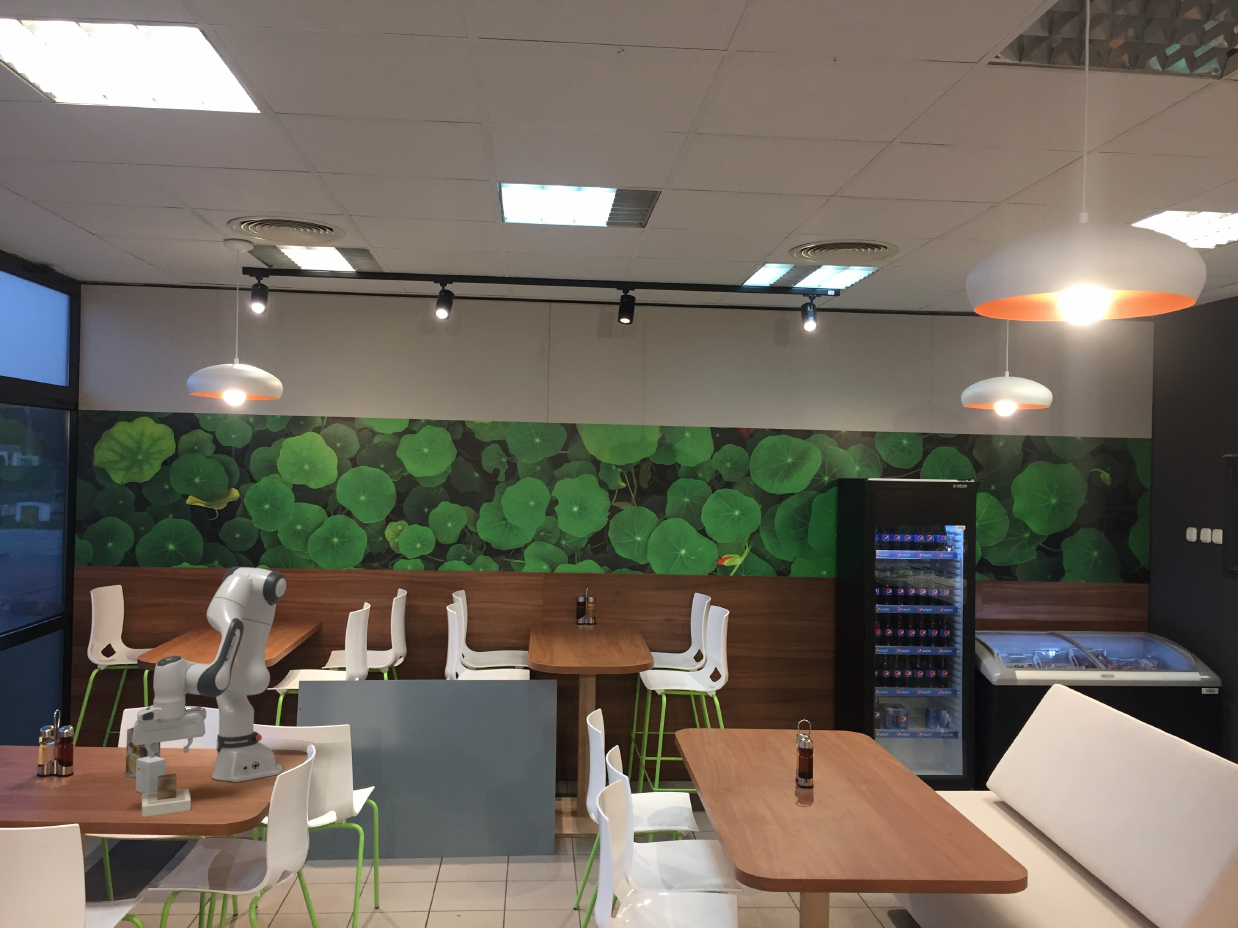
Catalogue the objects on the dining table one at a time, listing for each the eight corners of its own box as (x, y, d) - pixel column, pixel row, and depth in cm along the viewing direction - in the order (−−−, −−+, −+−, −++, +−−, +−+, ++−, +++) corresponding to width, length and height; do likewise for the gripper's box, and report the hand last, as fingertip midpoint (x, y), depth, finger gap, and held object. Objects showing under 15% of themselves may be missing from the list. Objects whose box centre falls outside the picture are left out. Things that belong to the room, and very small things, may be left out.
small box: (165, 791, 283) (166, 758, 284) (147, 796, 279) (149, 762, 279) (152, 786, 288) (153, 754, 288) (134, 791, 283) (136, 758, 284)
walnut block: (175, 792, 272) (175, 773, 272) (175, 797, 268) (176, 777, 268) (157, 795, 270) (157, 775, 270) (157, 799, 265) (158, 779, 266)
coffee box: (160, 773, 302) (162, 726, 303) (146, 778, 296) (148, 730, 297) (138, 771, 305) (140, 724, 306) (124, 776, 298) (126, 729, 299)
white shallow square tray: (188, 797, 277) (188, 787, 278) (190, 810, 266) (190, 799, 266) (141, 803, 271) (142, 793, 271) (141, 816, 260) (142, 805, 260)
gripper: (205, 703, 278) (205, 746, 278) (132, 711, 268) (132, 756, 268) (207, 707, 273) (206, 752, 272) (132, 716, 263) (132, 762, 262)
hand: (169, 754), depth 270 cm, fingers open, 8 cm apart
